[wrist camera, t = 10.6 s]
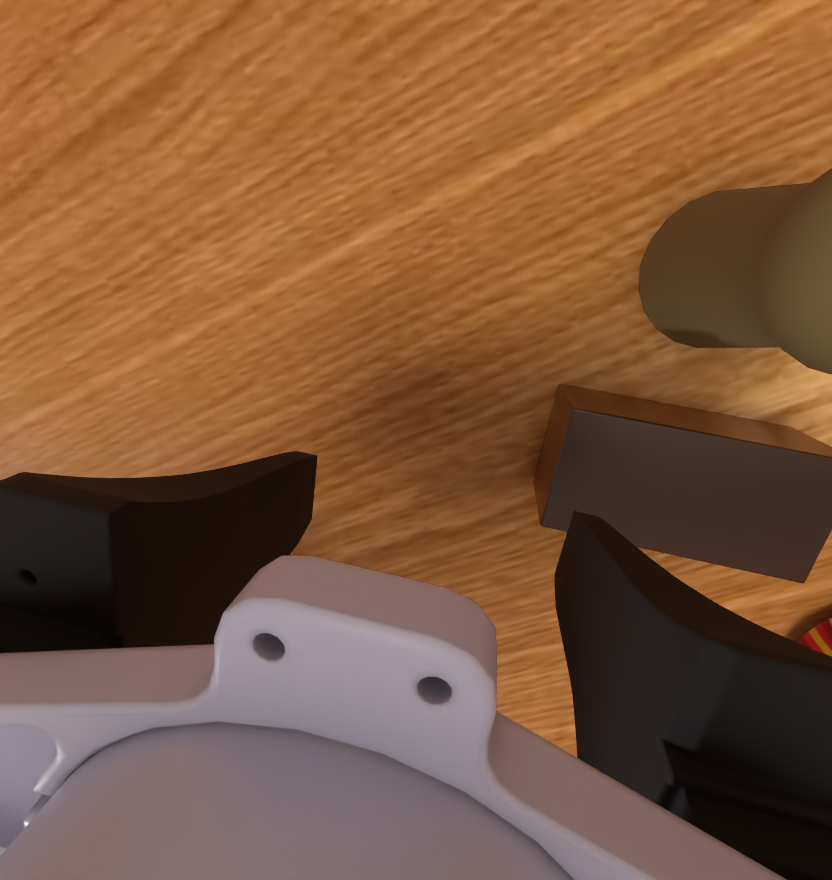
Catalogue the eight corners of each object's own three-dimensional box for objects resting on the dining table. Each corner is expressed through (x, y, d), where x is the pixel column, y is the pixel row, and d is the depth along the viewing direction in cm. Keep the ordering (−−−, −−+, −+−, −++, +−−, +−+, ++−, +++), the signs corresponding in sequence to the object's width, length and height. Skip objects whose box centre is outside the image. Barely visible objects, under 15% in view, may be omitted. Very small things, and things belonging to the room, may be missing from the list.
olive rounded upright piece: (805, 169, 18) (1224, 14, 7) (803, 332, 19) (1144, 389, 9) (632, 211, 19) (786, 128, 9) (644, 360, 21) (785, 437, 10)
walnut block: (747, 527, 22) (804, 584, 18) (532, 482, 23) (539, 526, 19) (792, 427, 21) (866, 463, 16) (559, 383, 22) (573, 407, 17)
